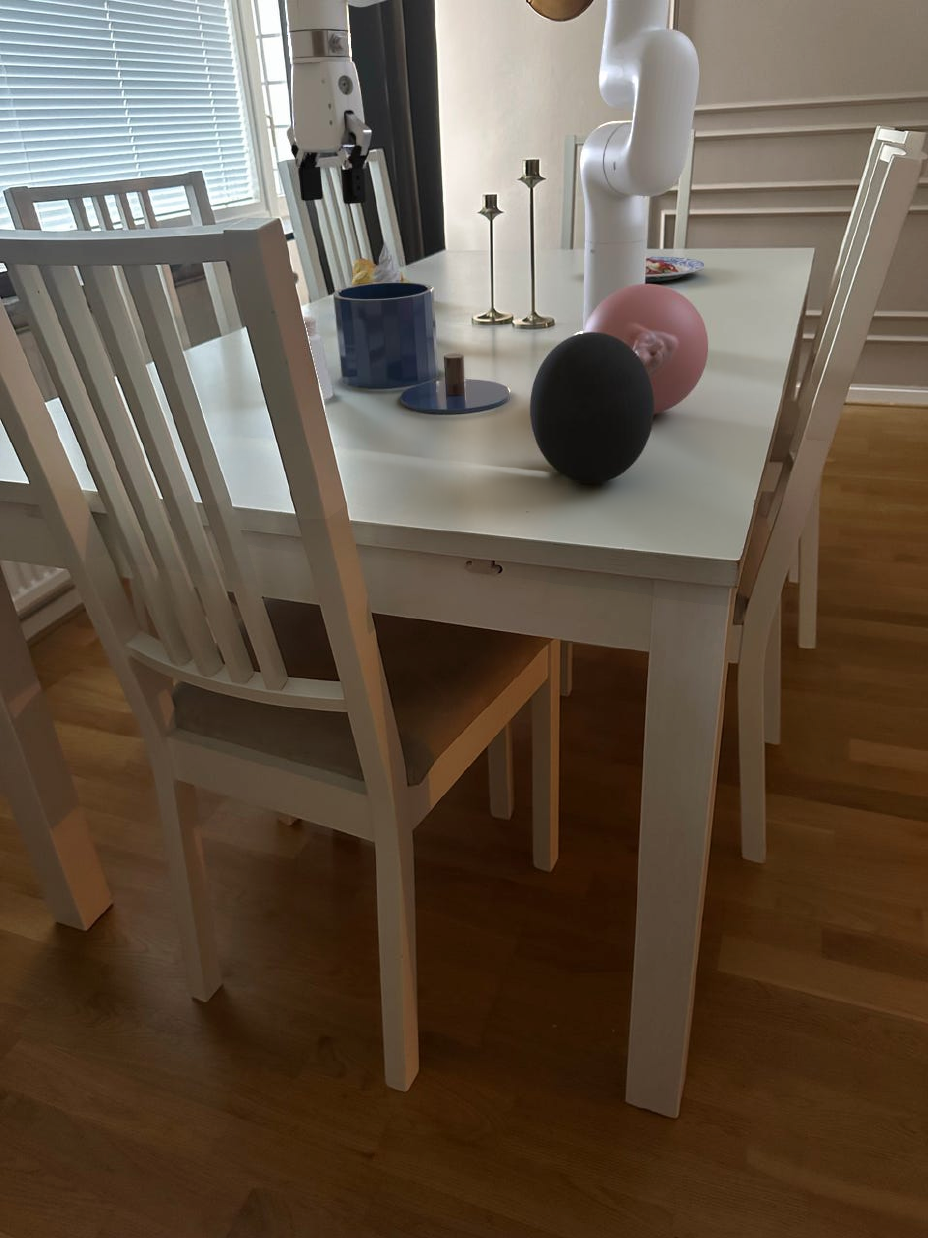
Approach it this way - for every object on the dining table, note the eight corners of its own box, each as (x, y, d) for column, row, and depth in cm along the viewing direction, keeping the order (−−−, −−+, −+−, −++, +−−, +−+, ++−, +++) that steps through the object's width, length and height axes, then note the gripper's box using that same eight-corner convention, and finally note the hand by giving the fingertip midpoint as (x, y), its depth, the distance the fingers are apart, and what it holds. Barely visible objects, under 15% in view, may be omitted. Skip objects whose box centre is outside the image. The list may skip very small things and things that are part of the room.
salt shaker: (291, 397, 130) (280, 316, 124) (329, 392, 131) (320, 312, 126) (299, 407, 125) (288, 323, 120) (338, 401, 127) (329, 319, 121)
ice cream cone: (401, 333, 163) (394, 242, 156) (373, 333, 164) (365, 242, 157) (408, 327, 167) (402, 238, 160) (381, 327, 168) (373, 238, 161)
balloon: (564, 442, 108) (565, 305, 100) (586, 394, 124) (588, 274, 117) (700, 446, 104) (712, 305, 97) (704, 397, 121) (714, 273, 113)
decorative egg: (635, 507, 90) (643, 351, 82) (514, 495, 94) (512, 344, 87) (660, 465, 100) (669, 322, 92) (550, 455, 104) (550, 317, 96)
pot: (453, 370, 139) (449, 283, 133) (410, 395, 128) (403, 301, 122) (372, 364, 144) (365, 280, 138) (324, 388, 133) (313, 297, 127)
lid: (526, 392, 127) (526, 346, 124) (483, 423, 115) (481, 373, 112) (431, 384, 133) (429, 340, 130) (381, 413, 121) (377, 365, 118)
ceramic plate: (567, 273, 212) (567, 259, 210) (668, 262, 218) (669, 249, 216) (616, 290, 190) (617, 275, 188) (727, 278, 196) (729, 263, 195)
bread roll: (418, 296, 194) (415, 255, 190) (405, 305, 186) (402, 262, 182) (359, 296, 197) (356, 256, 193) (344, 305, 189) (340, 263, 185)
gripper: (387, 46, 111) (395, 202, 119) (306, 54, 122) (319, 196, 130) (335, 44, 106) (348, 206, 115) (257, 53, 118) (273, 200, 126)
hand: (333, 201), depth 123 cm, fingers open, 9 cm apart
